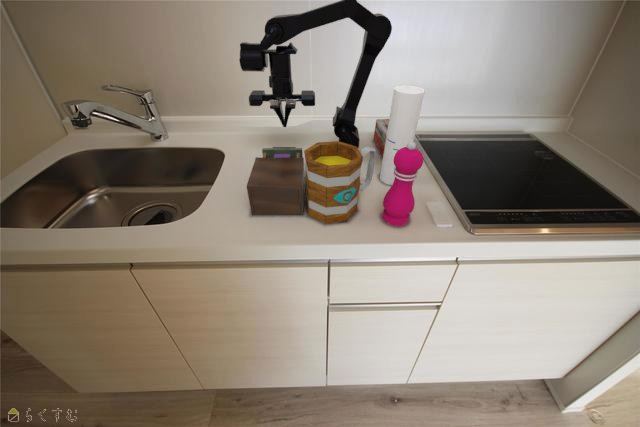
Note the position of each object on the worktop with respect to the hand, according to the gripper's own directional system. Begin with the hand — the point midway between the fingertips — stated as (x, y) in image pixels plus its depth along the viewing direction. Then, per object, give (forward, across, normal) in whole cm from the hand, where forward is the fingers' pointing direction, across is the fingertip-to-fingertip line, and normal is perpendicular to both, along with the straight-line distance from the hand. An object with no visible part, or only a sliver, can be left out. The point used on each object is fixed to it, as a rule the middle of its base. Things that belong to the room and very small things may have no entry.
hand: (284, 126), depth 88 cm
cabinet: (+10, 0, +24) cm, 26 cm away
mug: (+10, -16, +26) cm, 32 cm away
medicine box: (+6, -35, -5) cm, 36 cm away
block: (+8, 0, +14) cm, 16 cm away
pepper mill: (+10, -29, +32) cm, 44 cm away
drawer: (+9, 0, +14) cm, 16 cm away
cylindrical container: (+10, -32, +14) cm, 36 cm away
